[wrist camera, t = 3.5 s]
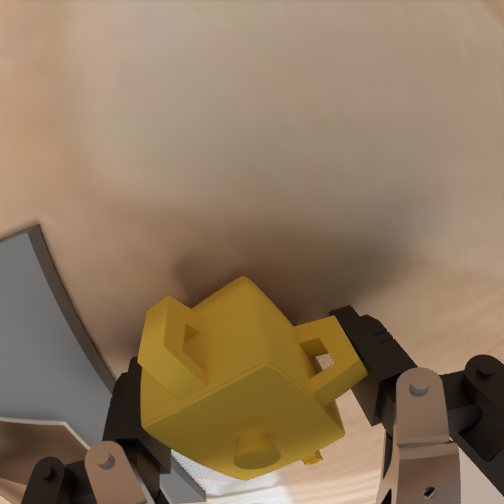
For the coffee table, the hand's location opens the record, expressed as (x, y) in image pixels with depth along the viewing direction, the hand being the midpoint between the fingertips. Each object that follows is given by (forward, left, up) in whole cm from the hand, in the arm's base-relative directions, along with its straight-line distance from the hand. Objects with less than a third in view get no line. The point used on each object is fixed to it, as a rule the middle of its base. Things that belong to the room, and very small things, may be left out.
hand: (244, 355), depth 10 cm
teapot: (0, 0, -1) cm, 1 cm away
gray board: (+15, +4, -1) cm, 15 cm away
